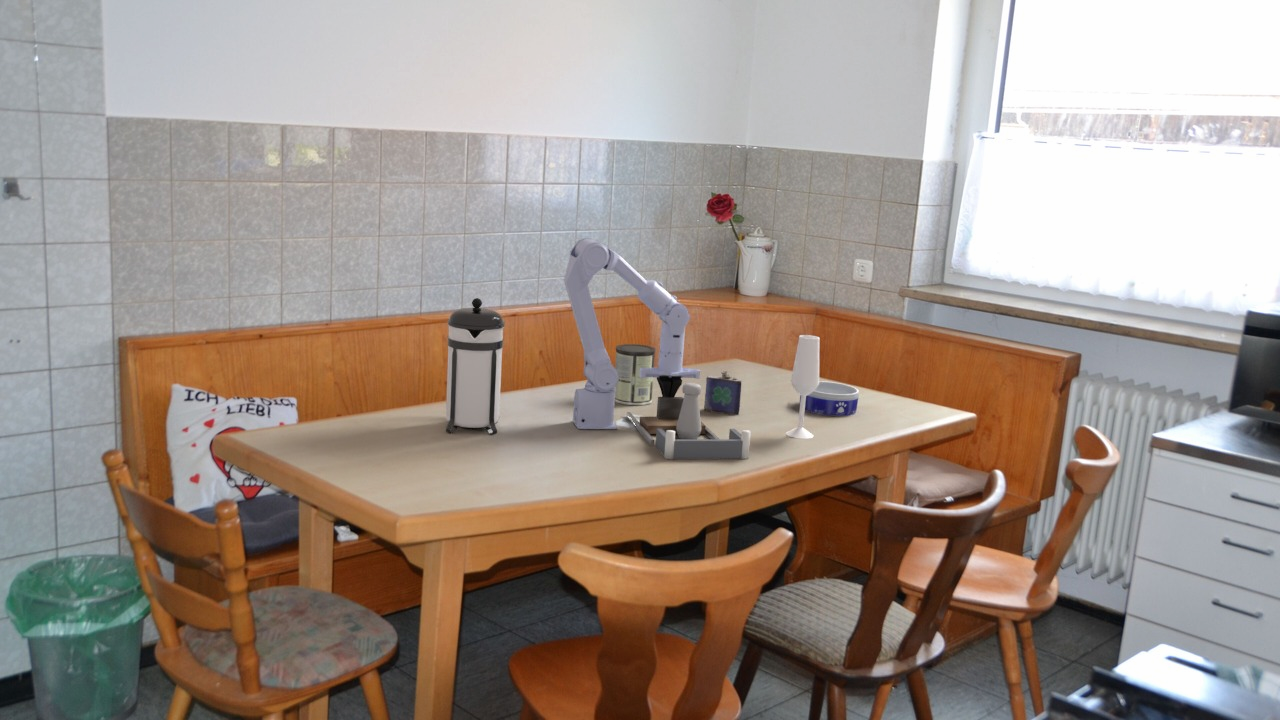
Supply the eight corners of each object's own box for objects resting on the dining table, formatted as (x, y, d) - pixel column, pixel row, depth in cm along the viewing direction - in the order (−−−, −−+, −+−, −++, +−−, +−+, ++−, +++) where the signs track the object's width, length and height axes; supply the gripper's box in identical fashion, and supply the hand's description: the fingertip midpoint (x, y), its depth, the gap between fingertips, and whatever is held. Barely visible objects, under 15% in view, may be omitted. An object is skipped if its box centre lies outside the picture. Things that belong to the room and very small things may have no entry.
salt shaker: (699, 443, 251) (703, 387, 249) (674, 440, 252) (678, 385, 250) (701, 436, 257) (706, 382, 254) (677, 434, 258) (681, 380, 255)
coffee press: (522, 429, 252) (528, 300, 246) (466, 440, 241) (471, 305, 235) (474, 413, 264) (479, 289, 258) (419, 422, 252) (423, 293, 246)
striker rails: (650, 445, 247) (651, 440, 247) (626, 416, 270) (626, 411, 270) (720, 445, 251) (720, 440, 251) (690, 416, 274) (690, 412, 274)
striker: (647, 433, 255) (649, 404, 254) (639, 424, 263) (641, 396, 261) (704, 433, 258) (707, 405, 257) (695, 424, 266) (697, 396, 265)
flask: (702, 410, 281) (706, 369, 279) (705, 408, 284) (709, 367, 282) (737, 416, 279) (741, 374, 276) (740, 413, 281) (744, 372, 279)
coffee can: (626, 393, 294) (629, 342, 291) (659, 401, 288) (663, 348, 285) (604, 400, 285) (608, 347, 282) (638, 407, 280) (641, 353, 277)
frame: (665, 459, 237) (667, 432, 236) (653, 445, 247) (655, 420, 246) (749, 458, 242) (752, 432, 241) (734, 445, 251) (737, 420, 250)
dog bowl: (839, 401, 302) (841, 380, 301) (867, 416, 288) (869, 394, 287) (789, 402, 297) (791, 380, 296) (815, 417, 283) (817, 394, 282)
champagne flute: (797, 429, 269) (806, 333, 264) (819, 436, 265) (829, 338, 260) (779, 433, 265) (789, 335, 260) (802, 440, 260) (812, 340, 255)
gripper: (646, 354, 256) (642, 410, 259) (705, 355, 260) (700, 411, 263) (638, 348, 263) (635, 403, 266) (696, 349, 267) (692, 403, 269)
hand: (667, 406), depth 265 cm, fingers closed, pressing on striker
